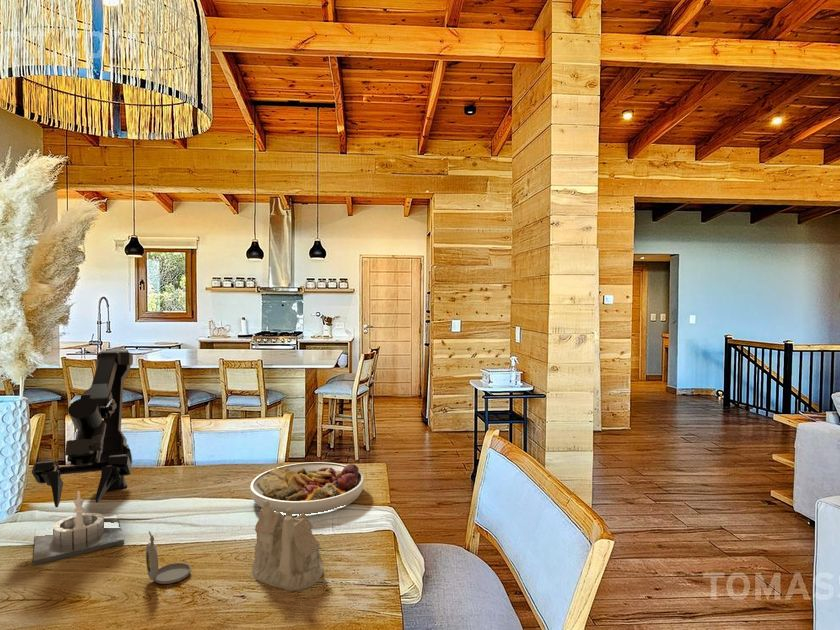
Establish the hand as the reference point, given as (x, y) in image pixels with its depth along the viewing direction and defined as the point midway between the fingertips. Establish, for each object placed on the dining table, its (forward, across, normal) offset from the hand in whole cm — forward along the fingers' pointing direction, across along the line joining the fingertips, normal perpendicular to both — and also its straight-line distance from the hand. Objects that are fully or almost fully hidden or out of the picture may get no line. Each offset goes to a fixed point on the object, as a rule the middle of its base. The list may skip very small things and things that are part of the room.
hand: (76, 504), depth 114 cm
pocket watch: (+22, +20, -9) cm, 31 cm away
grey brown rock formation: (+24, +44, -11) cm, 52 cm away
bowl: (-1, +52, +13) cm, 53 cm away
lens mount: (+5, 0, +7) cm, 9 cm away
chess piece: (+4, 0, +7) cm, 8 cm away
